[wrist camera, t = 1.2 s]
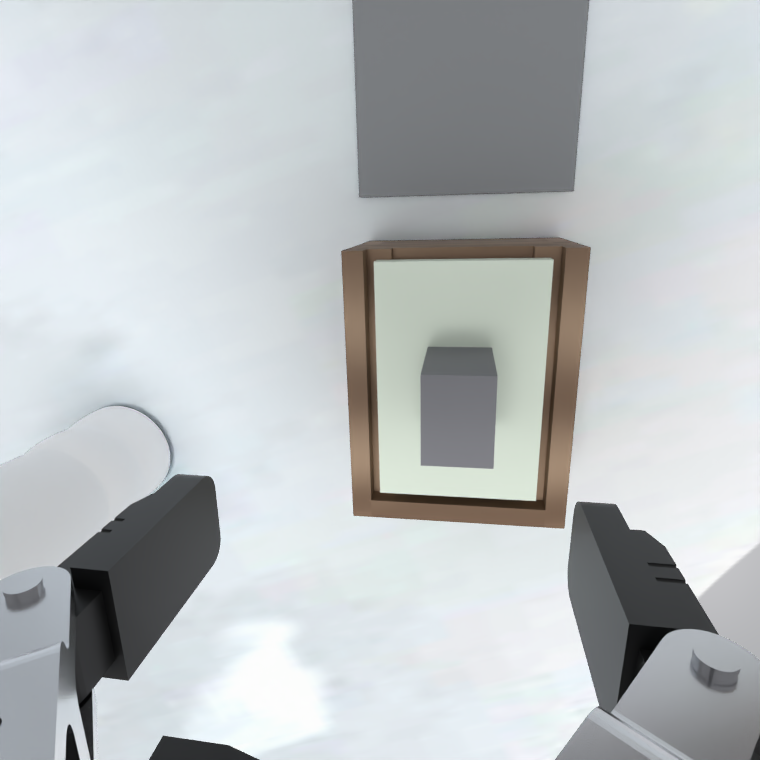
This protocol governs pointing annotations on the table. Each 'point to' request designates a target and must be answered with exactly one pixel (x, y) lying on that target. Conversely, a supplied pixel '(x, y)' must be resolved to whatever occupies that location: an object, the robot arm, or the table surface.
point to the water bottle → (76, 485)
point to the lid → (461, 374)
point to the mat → (467, 95)
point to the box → (557, 388)
